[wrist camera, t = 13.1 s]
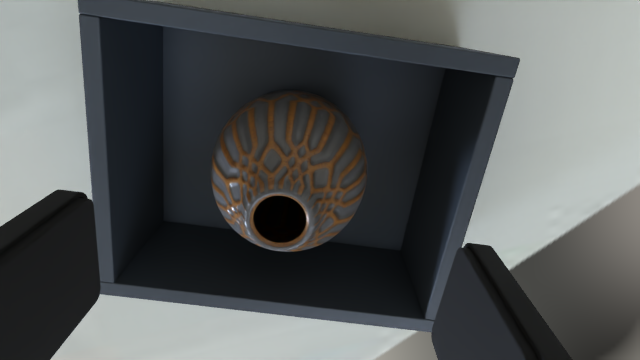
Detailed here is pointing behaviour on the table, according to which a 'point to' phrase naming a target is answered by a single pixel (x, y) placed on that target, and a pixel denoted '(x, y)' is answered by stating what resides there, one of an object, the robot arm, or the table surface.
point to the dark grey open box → (231, 95)
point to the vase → (288, 171)
